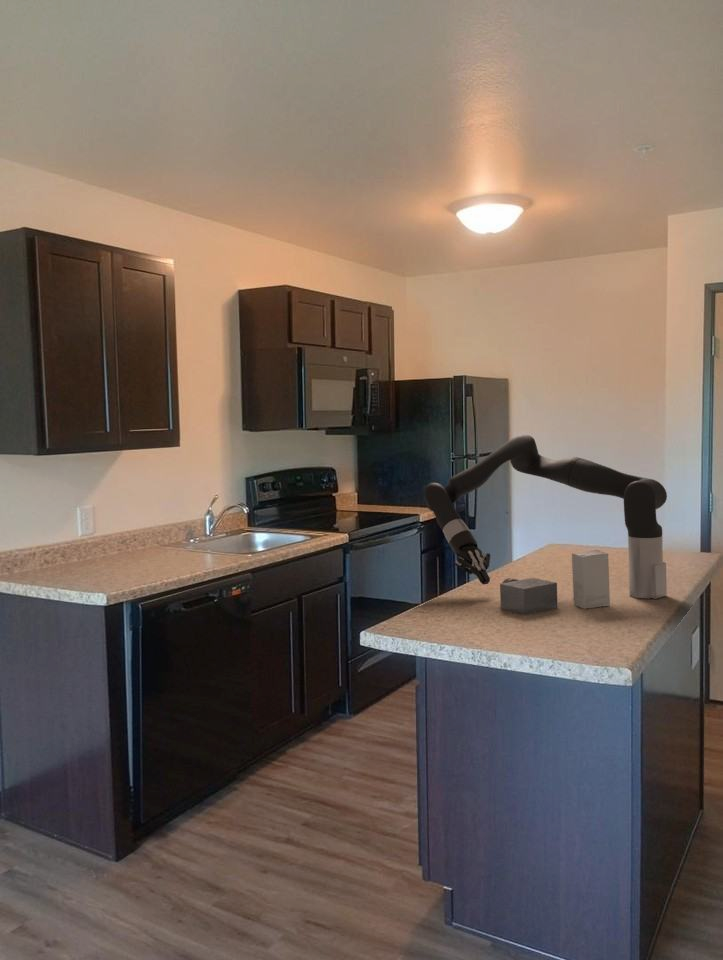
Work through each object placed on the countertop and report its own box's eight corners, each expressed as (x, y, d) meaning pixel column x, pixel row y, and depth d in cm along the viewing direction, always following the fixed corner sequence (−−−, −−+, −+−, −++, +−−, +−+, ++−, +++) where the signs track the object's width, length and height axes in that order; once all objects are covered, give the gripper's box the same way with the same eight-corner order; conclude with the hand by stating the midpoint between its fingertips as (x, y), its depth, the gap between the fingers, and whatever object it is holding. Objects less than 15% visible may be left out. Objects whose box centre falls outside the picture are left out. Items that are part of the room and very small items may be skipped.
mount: (500, 608, 216) (500, 583, 215) (533, 602, 222) (532, 577, 222) (524, 614, 208) (523, 588, 207) (557, 608, 214) (556, 582, 213)
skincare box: (599, 602, 219) (597, 549, 218) (611, 606, 213) (609, 552, 212) (572, 605, 216) (570, 552, 215) (583, 609, 211) (582, 555, 210)
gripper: (471, 542, 245) (498, 587, 236) (437, 547, 239) (463, 593, 229) (481, 527, 241) (509, 572, 231) (447, 531, 234) (474, 578, 224)
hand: (486, 582), depth 230 cm, fingers closed
